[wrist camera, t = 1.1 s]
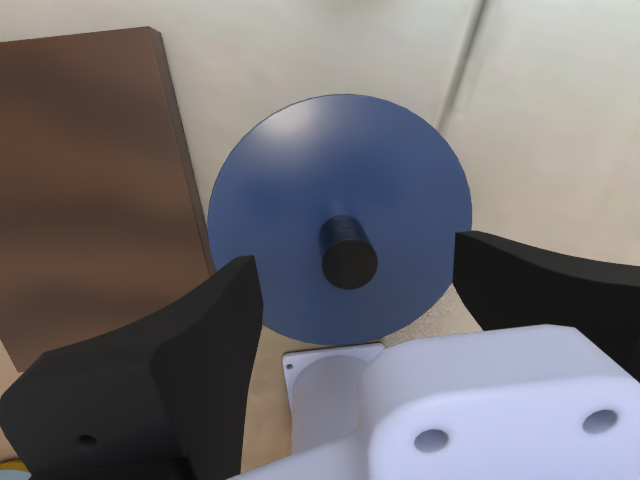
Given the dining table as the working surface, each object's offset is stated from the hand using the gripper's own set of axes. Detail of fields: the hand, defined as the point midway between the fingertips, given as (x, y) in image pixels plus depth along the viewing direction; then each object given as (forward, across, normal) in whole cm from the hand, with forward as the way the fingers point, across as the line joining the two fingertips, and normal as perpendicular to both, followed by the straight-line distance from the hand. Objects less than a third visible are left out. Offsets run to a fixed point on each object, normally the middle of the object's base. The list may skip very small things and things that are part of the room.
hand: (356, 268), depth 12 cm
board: (+11, +16, 0) cm, 19 cm away
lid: (+6, 0, +1) cm, 6 cm away
